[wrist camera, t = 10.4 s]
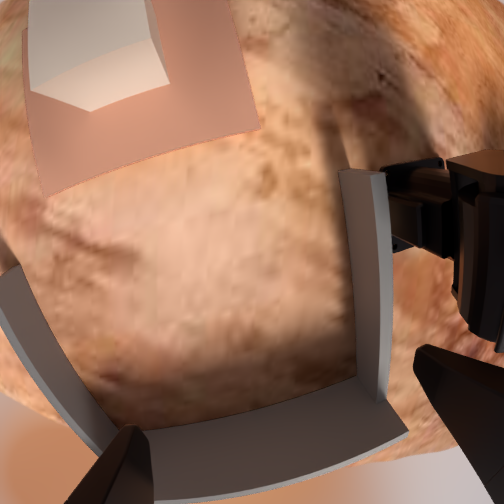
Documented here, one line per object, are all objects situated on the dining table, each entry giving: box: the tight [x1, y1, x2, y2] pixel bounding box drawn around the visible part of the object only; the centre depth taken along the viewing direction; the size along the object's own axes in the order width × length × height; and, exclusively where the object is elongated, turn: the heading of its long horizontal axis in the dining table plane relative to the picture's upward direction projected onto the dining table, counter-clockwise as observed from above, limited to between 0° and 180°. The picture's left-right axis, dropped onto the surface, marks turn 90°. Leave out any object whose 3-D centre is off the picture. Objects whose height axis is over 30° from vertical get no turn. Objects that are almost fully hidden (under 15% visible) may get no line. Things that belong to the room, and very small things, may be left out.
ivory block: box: [28, 0, 170, 112], centre depth 10 cm, size 5×5×7 cm
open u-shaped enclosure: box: [0, 168, 409, 504], centre depth 16 cm, size 25×19×8 cm
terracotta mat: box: [22, 0, 261, 198], centre depth 13 cm, size 14×13×1 cm
